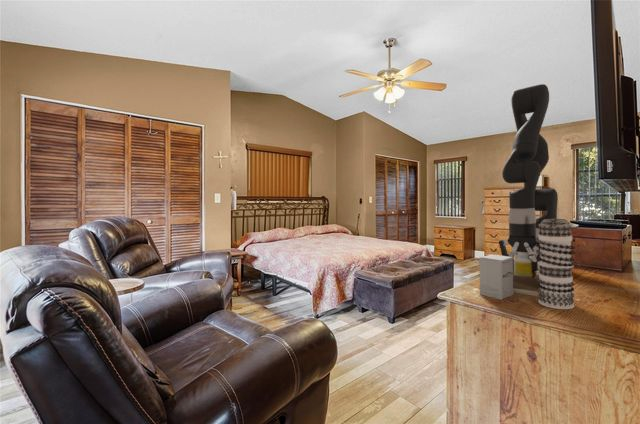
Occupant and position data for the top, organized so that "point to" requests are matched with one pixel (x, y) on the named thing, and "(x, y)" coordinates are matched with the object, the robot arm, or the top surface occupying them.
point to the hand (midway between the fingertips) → (522, 271)
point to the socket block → (526, 284)
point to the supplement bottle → (523, 264)
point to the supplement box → (496, 276)
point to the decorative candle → (555, 264)
